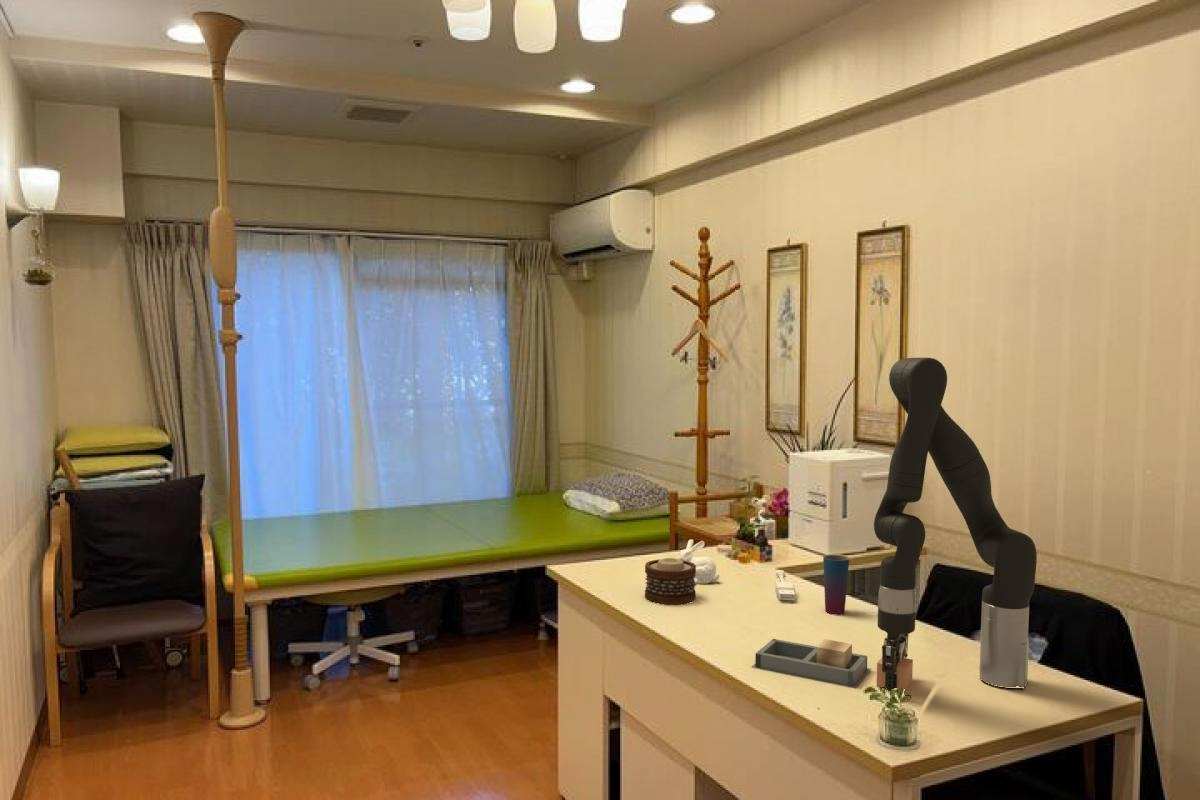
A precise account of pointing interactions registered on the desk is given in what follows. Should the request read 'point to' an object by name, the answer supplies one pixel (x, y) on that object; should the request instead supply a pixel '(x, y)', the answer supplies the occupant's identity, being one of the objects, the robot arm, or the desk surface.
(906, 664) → the terracotta cube
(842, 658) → the oak cube
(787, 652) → the pocket tray
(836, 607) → the cup
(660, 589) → the spiked roller
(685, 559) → the rabbit
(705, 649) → the desk surface
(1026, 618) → the robot arm
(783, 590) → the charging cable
